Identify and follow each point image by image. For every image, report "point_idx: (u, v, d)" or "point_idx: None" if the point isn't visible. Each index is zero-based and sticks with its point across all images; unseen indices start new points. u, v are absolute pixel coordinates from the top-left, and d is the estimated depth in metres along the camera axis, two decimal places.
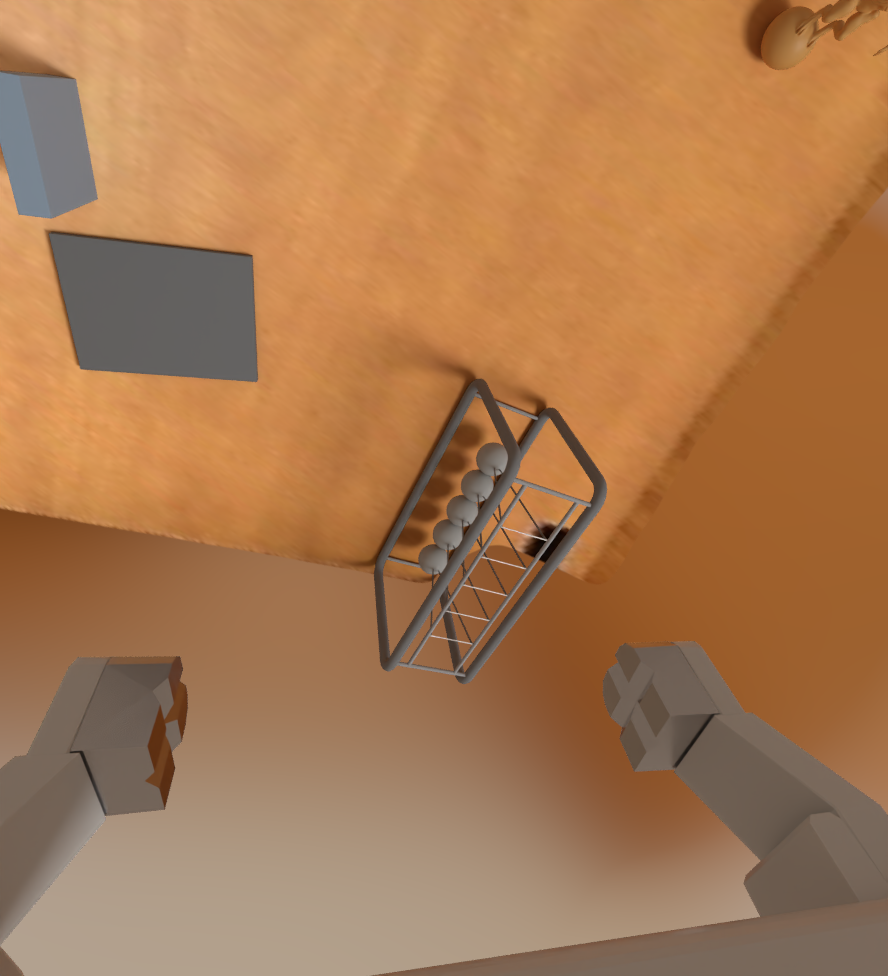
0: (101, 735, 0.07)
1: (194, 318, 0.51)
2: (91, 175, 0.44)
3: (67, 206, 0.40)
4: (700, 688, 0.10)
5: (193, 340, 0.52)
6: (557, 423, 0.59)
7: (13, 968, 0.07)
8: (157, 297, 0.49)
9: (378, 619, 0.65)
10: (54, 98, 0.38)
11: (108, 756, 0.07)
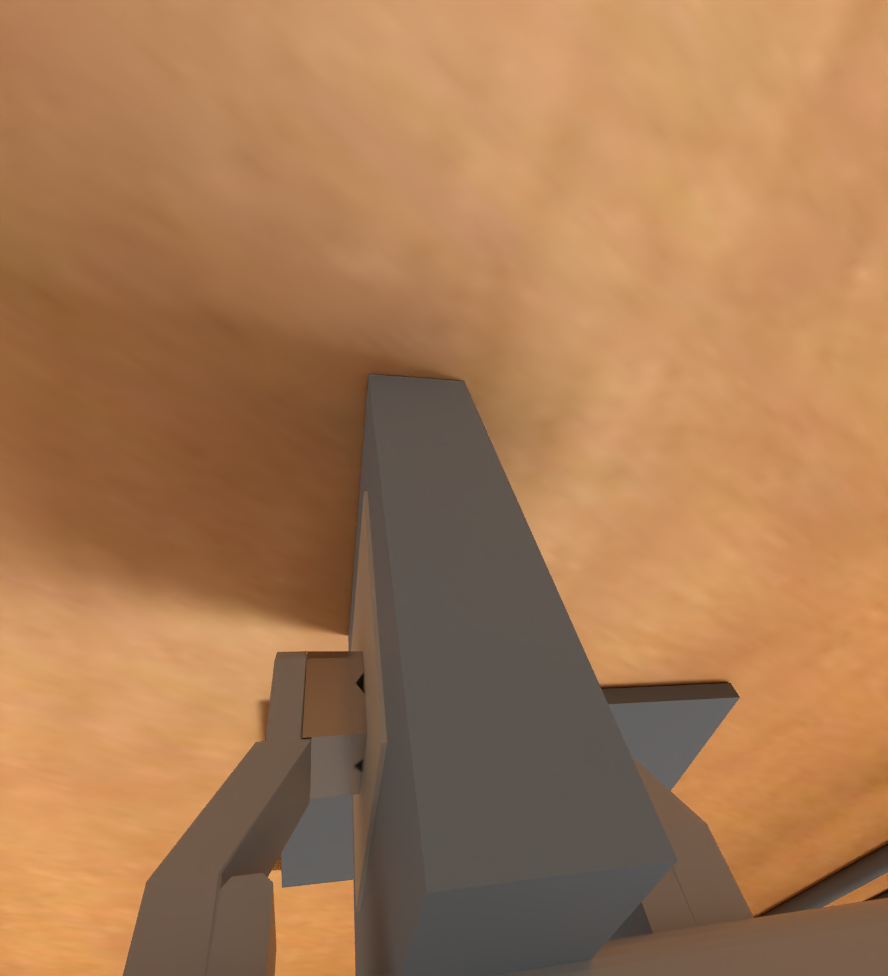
0: (323, 723, 0.08)
1: None
2: None
3: None
4: None
5: None
6: None
7: (274, 934, 0.07)
8: None
9: None
10: None
11: (331, 742, 0.08)
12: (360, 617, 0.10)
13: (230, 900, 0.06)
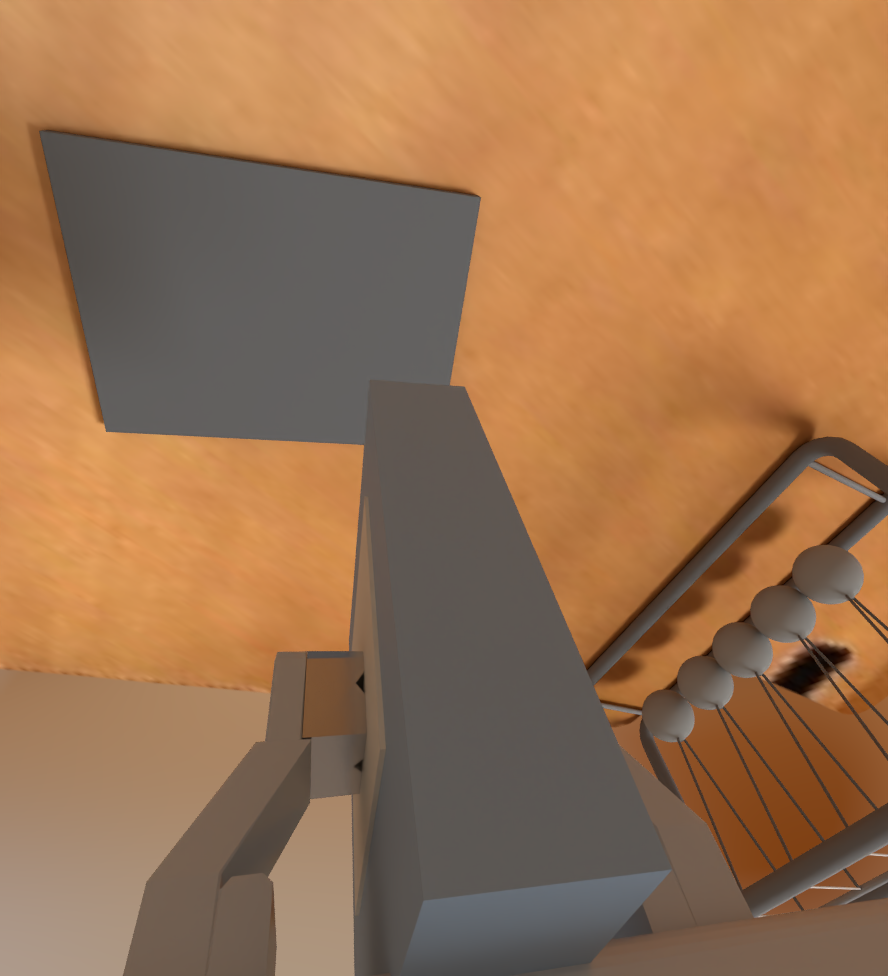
0: (324, 723, 0.08)
1: (342, 329, 0.25)
2: None
3: None
4: None
5: (334, 372, 0.26)
6: None
7: (274, 934, 0.07)
8: (272, 285, 0.23)
9: None
10: None
11: (331, 742, 0.08)
12: (360, 622, 0.10)
13: (230, 900, 0.06)
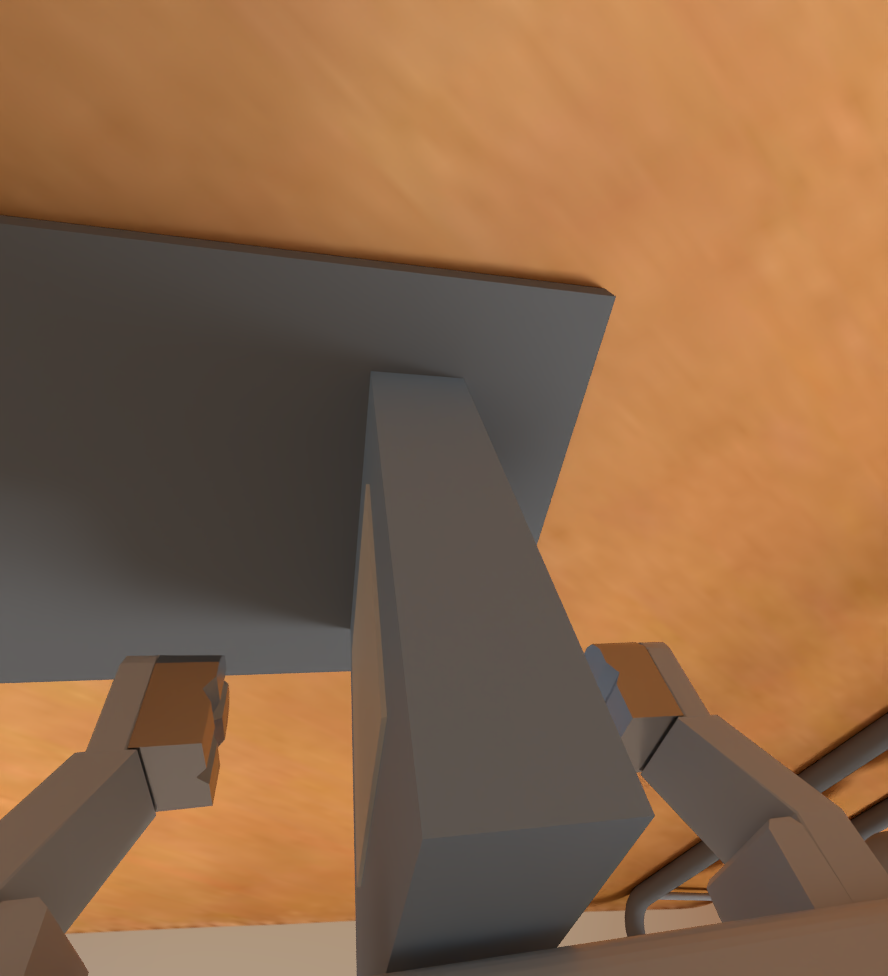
0: (156, 732, 0.08)
1: (341, 520, 0.14)
2: None
3: None
4: (665, 690, 0.10)
5: (328, 581, 0.15)
6: None
7: (78, 960, 0.07)
8: (208, 459, 0.12)
9: None
10: None
11: (163, 753, 0.08)
12: (362, 605, 0.11)
13: None
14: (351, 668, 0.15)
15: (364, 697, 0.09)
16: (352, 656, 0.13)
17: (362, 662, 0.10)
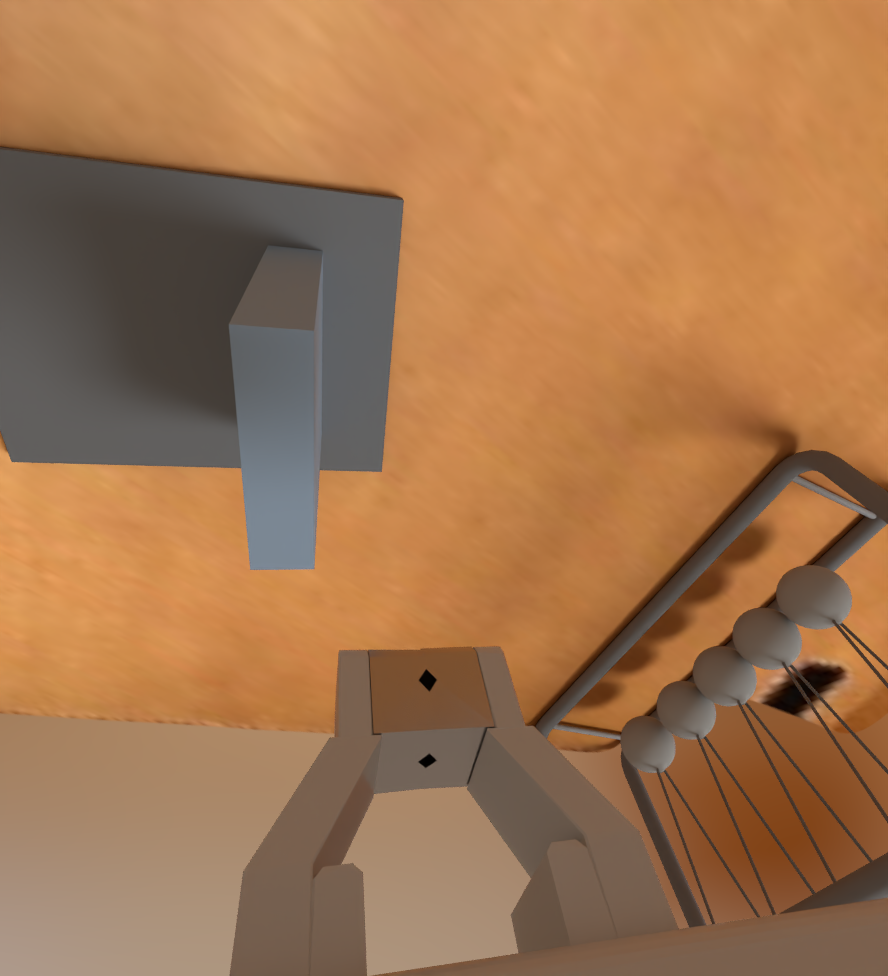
0: (392, 719, 0.08)
1: None
2: (321, 404, 0.24)
3: None
4: (485, 699, 0.09)
5: None
6: None
7: None
8: (179, 301, 0.21)
9: None
10: (319, 318, 0.18)
11: (400, 738, 0.08)
12: None
13: (325, 889, 0.06)
14: None
15: None
16: None
17: None
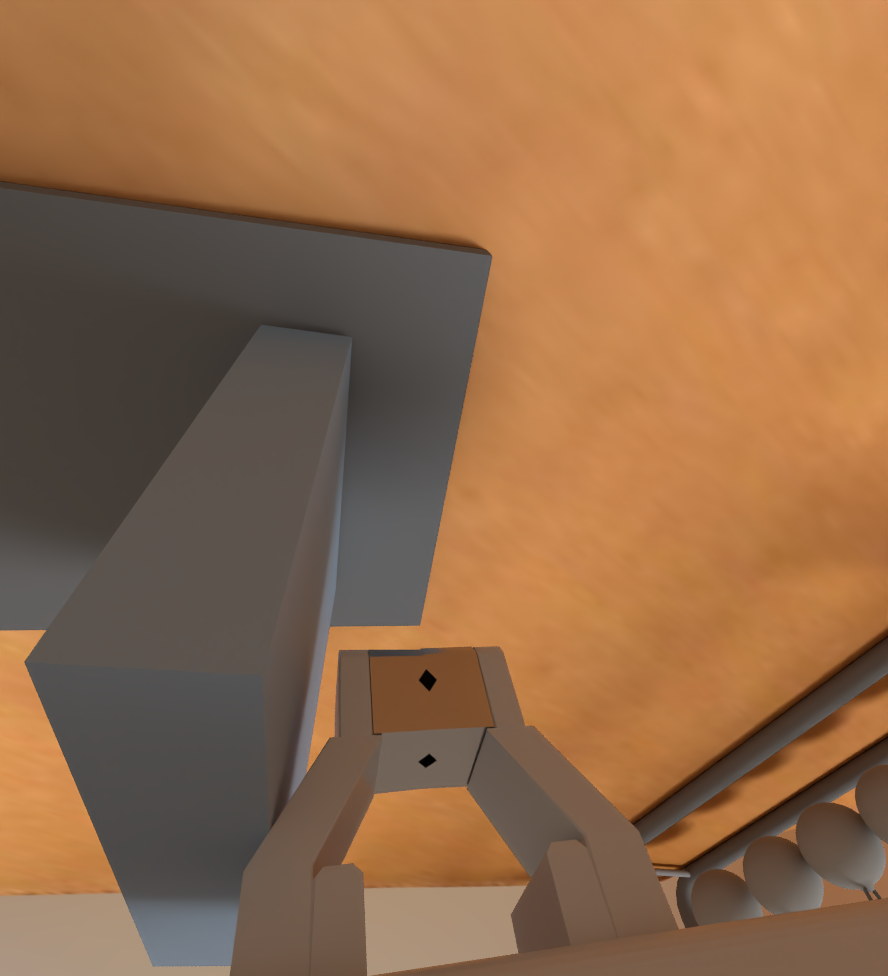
0: (392, 719, 0.08)
1: None
2: (336, 556, 0.16)
3: None
4: (485, 699, 0.09)
5: None
6: None
7: None
8: (111, 409, 0.13)
9: None
10: (324, 490, 0.09)
11: (400, 738, 0.08)
12: None
13: (325, 889, 0.06)
14: None
15: None
16: None
17: None
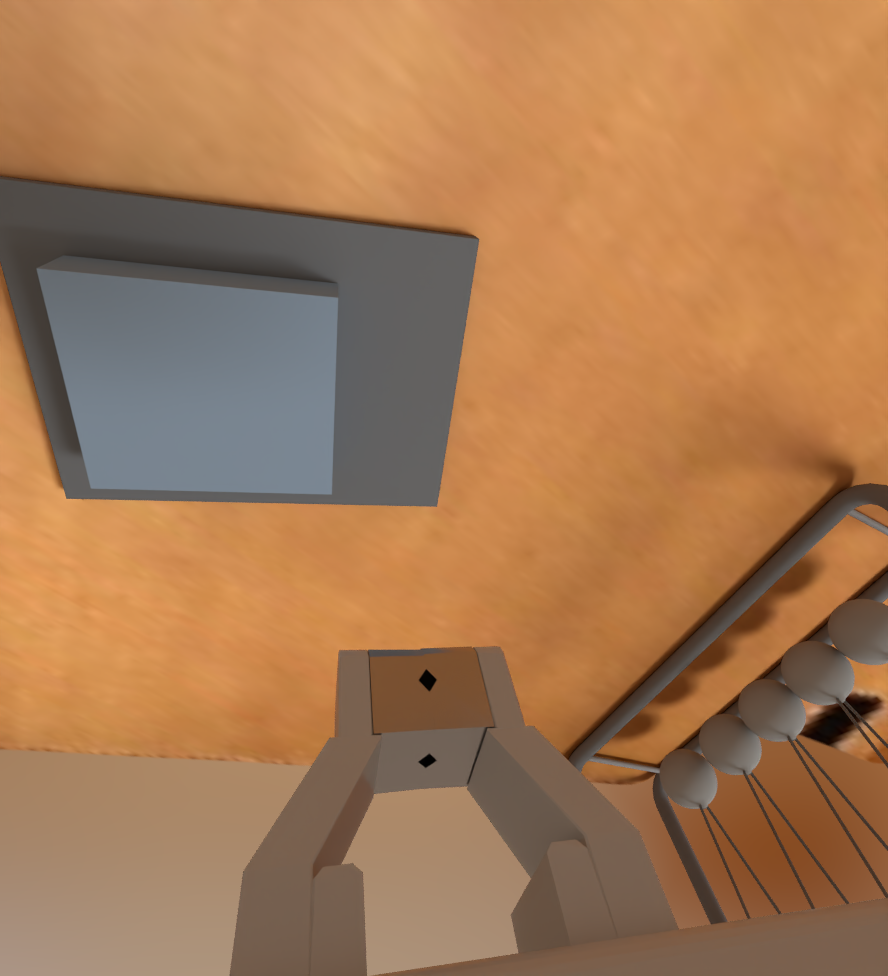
0: (392, 719, 0.08)
1: None
2: (321, 457, 0.22)
3: (172, 483, 0.21)
4: (485, 699, 0.09)
5: None
6: None
7: None
8: None
9: None
10: (201, 319, 0.18)
11: (400, 738, 0.08)
12: None
13: (325, 889, 0.06)
14: None
15: None
16: None
17: None
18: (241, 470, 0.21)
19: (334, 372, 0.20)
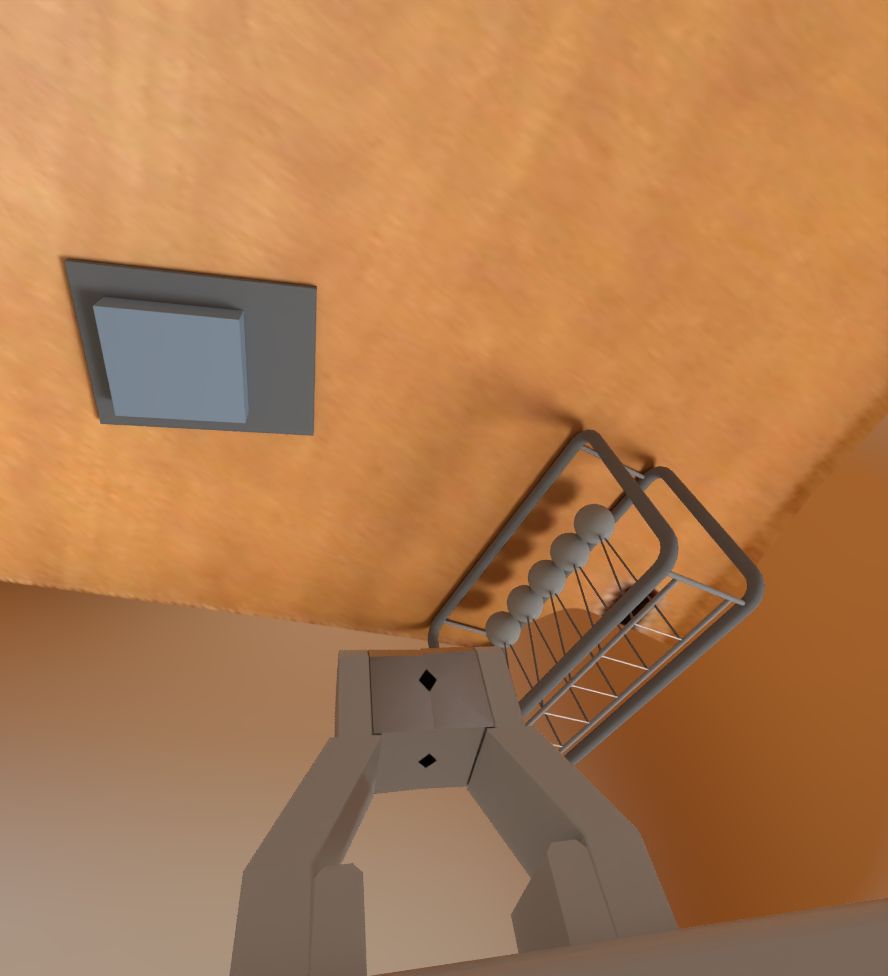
0: (392, 719, 0.08)
1: None
2: (237, 402, 0.41)
3: (158, 414, 0.40)
4: (485, 699, 0.09)
5: None
6: (677, 488, 0.50)
7: None
8: None
9: None
10: (171, 330, 0.37)
11: (400, 738, 0.08)
12: None
13: (325, 889, 0.06)
14: None
15: None
16: None
17: None
18: (194, 408, 0.41)
19: (240, 356, 0.39)
